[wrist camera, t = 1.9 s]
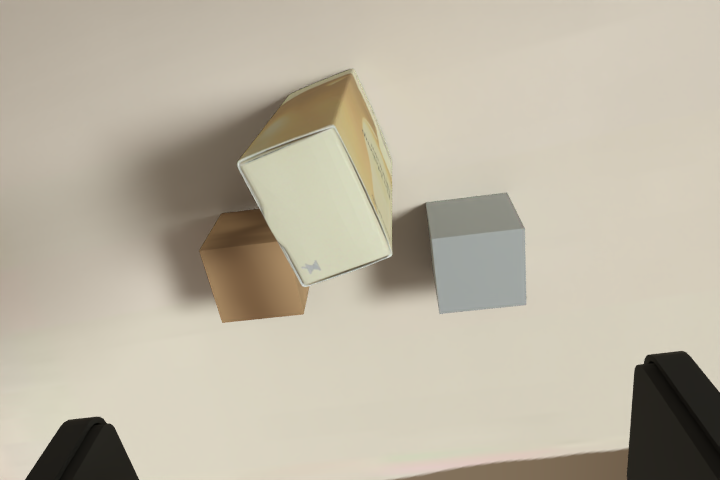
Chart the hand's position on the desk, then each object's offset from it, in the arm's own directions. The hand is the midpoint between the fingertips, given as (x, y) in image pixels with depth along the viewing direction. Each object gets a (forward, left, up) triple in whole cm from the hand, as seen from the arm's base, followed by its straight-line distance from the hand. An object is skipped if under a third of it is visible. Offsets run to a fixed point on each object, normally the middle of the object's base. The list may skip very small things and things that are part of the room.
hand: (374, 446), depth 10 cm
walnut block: (+9, +8, -25) cm, 28 cm away
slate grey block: (-4, +9, -25) cm, 27 cm away
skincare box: (+3, +1, -25) cm, 25 cm away
